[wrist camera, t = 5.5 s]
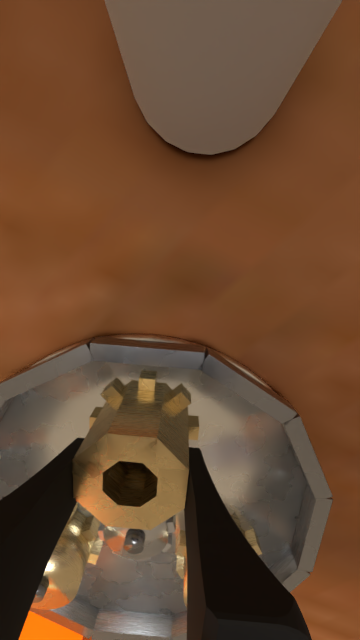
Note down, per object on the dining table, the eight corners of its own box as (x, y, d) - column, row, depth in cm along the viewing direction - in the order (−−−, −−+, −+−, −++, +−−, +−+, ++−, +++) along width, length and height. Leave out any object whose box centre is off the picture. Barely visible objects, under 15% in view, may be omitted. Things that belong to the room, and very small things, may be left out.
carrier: (383, 459, 16) (452, 527, 12) (184, 642, 21) (184, 737, 17) (81, 255, 14) (34, 251, 10) (-68, 517, 19) (-144, 593, 14)
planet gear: (203, 375, 14) (211, 428, 10) (192, 464, 16) (195, 546, 11) (95, 365, 14) (54, 414, 10) (95, 455, 16) (59, 533, 11)
